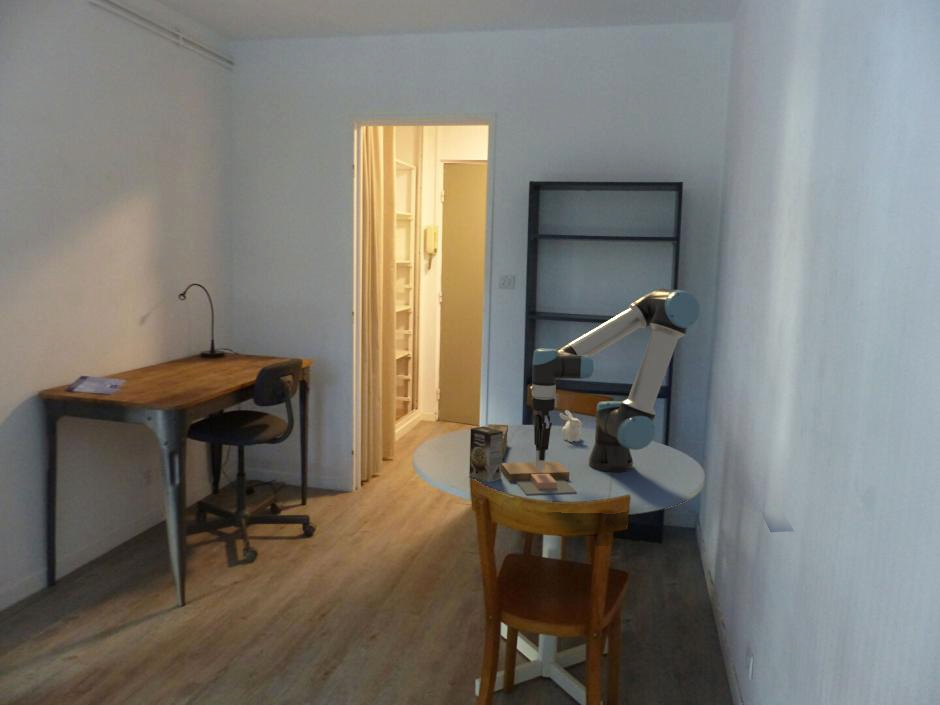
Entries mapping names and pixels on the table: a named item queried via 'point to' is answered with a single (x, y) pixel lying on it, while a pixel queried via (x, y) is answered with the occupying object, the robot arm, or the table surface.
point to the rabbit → (571, 427)
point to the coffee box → (486, 453)
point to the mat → (533, 490)
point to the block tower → (505, 430)
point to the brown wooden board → (533, 471)
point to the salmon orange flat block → (543, 481)
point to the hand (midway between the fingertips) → (540, 469)
